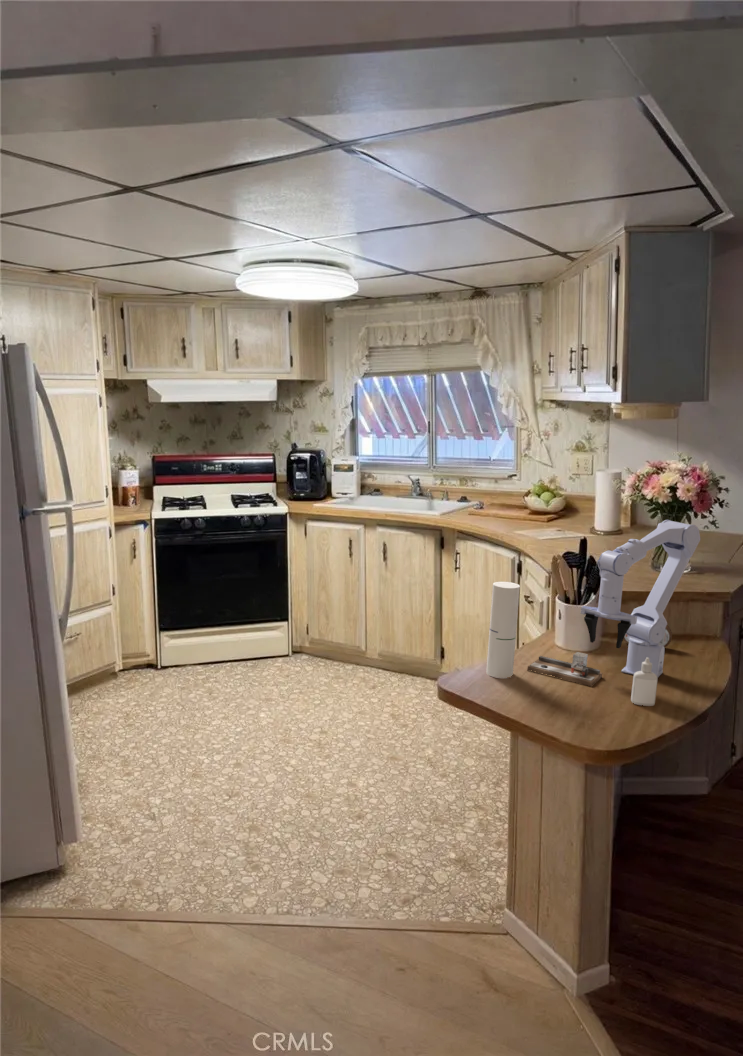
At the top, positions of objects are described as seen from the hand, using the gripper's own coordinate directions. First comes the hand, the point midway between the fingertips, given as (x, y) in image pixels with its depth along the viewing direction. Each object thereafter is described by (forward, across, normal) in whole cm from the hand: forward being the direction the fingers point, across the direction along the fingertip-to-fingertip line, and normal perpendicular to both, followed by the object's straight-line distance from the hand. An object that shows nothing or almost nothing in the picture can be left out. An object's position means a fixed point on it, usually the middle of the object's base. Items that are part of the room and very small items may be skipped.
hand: (605, 644), depth 204 cm
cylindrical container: (+10, -24, -15) cm, 30 cm away
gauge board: (+10, -10, -3) cm, 14 cm away
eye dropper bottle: (+10, +14, -10) cm, 20 cm away
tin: (+10, +2, +38) cm, 39 cm away
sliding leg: (+8, -6, -2) cm, 11 cm away
